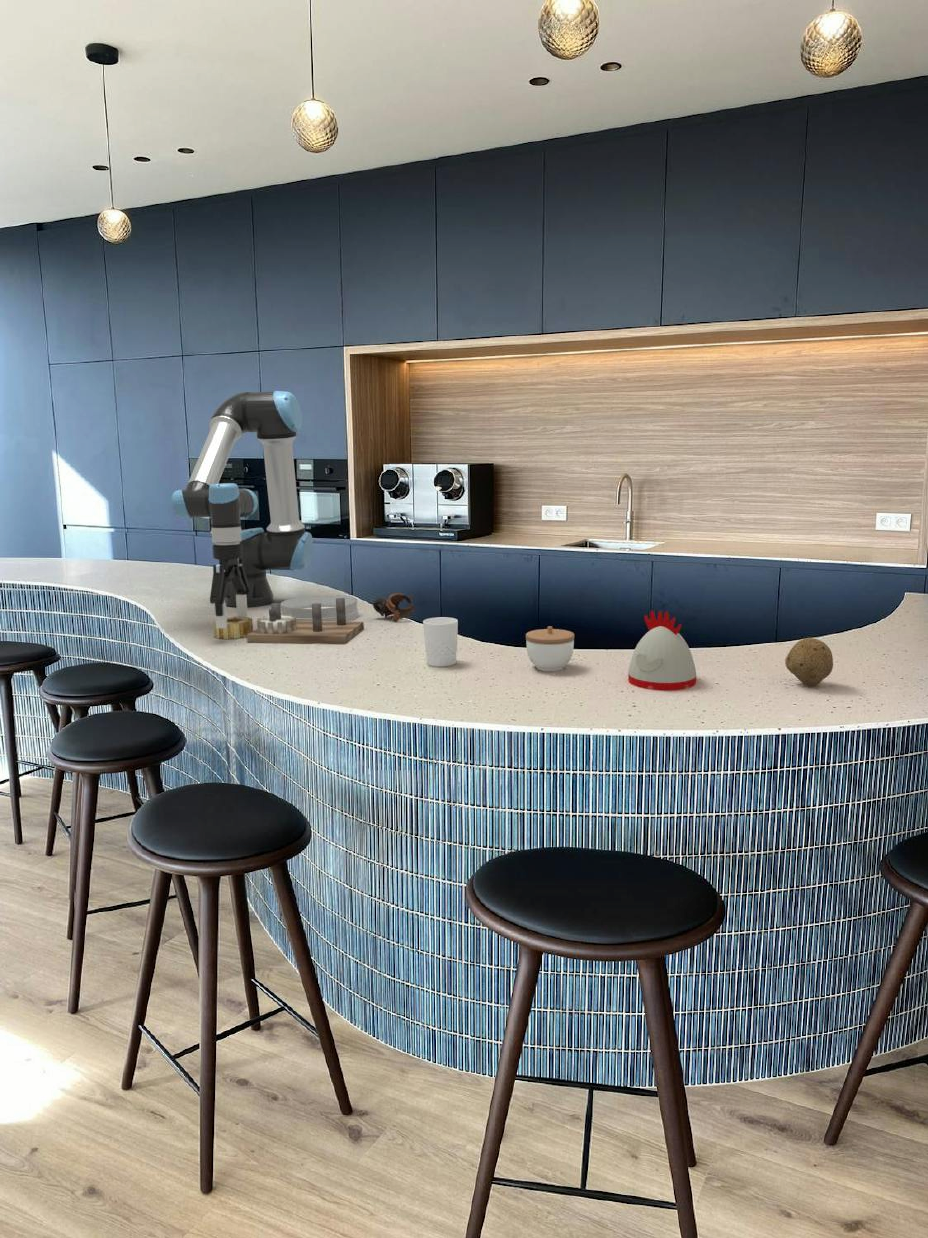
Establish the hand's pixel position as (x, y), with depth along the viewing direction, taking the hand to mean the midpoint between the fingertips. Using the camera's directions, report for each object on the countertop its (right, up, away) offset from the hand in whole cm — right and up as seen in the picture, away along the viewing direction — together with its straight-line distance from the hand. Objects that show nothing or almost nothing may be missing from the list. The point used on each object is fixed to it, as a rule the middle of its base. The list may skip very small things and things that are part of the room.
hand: (232, 623), depth 244 cm
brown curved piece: (+42, +1, +18) cm, 45 cm away
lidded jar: (+81, -10, -39) cm, 90 cm away
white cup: (+56, -9, -33) cm, 66 cm away
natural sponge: (+131, -13, -57) cm, 144 cm away
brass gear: (0, -3, +1) cm, 3 cm away
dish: (+20, +1, +22) cm, 29 cm away
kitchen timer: (+103, -12, -51) cm, 116 cm away
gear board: (+20, -3, -1) cm, 20 cm away
